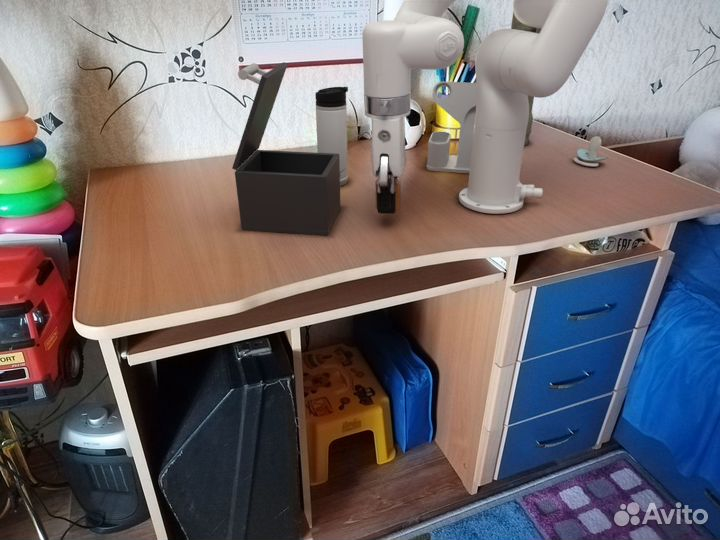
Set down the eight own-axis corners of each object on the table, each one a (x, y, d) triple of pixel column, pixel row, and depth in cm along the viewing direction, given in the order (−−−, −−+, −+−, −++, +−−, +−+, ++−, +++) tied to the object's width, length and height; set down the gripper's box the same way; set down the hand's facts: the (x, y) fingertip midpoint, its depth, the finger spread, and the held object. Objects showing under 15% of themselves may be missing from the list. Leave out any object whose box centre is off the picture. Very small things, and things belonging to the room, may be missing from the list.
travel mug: (345, 188, 114) (344, 91, 104) (315, 186, 115) (311, 89, 105) (352, 178, 119) (351, 84, 109) (323, 176, 121) (319, 83, 111)
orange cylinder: (401, 203, 99) (401, 177, 97) (399, 213, 96) (399, 186, 93) (377, 202, 100) (377, 176, 97) (374, 212, 96) (373, 186, 94)
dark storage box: (340, 207, 105) (339, 153, 100) (327, 235, 95) (325, 176, 89) (262, 203, 108) (257, 149, 102) (241, 230, 97) (234, 172, 92)
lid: (287, 64, 93) (260, 50, 93) (266, 77, 83) (235, 62, 82) (258, 148, 102) (233, 136, 101) (236, 170, 91) (207, 157, 91)
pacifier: (591, 170, 124) (609, 165, 126) (596, 143, 121) (615, 139, 123) (566, 161, 129) (584, 156, 132) (571, 135, 126) (589, 131, 129)
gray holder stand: (424, 169, 124) (428, 88, 115) (429, 156, 133) (434, 79, 123) (501, 176, 120) (513, 93, 111) (502, 161, 129) (512, 83, 120)
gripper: (406, 119, 81) (405, 228, 90) (413, 92, 95) (412, 189, 104) (356, 118, 82) (360, 226, 91) (371, 92, 96) (373, 188, 105)
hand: (388, 205), depth 98 cm, fingers closed on orange cylinder, 4 cm apart
